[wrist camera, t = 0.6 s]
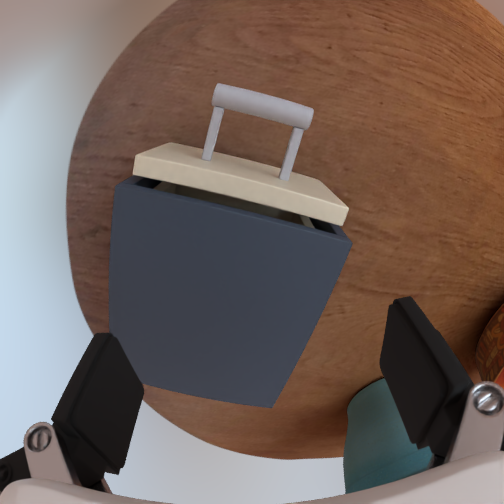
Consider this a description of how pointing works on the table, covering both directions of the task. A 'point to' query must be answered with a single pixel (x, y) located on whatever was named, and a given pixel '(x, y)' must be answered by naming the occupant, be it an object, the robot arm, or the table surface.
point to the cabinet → (215, 292)
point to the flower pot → (378, 442)
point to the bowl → (492, 350)
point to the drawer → (245, 166)
